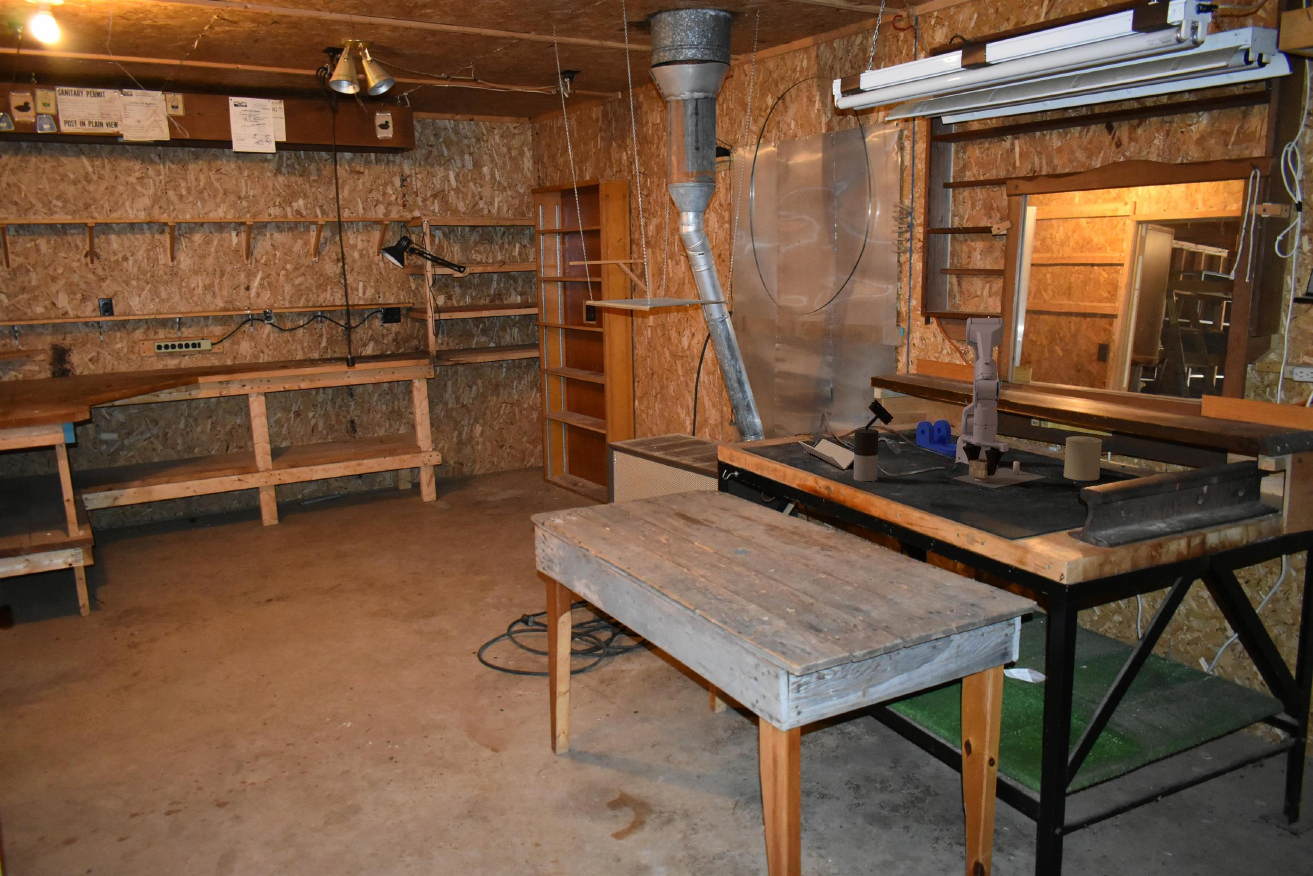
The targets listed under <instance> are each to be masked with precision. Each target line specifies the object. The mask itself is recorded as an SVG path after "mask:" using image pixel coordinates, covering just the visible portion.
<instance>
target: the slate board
mask: <svg viewBox="0 0 1313 876" xmlns="http://www.w3.org/2000/svg"><path fill="white" fill-rule="evenodd" d="M1020 462H1021V461H1017V460H1015V461H1013V465H1012V468H1007V467H1001V468H998V471H997V476H996V477H990V478H985V479H984V478H979V477H975V476H971V475H969V474H966V475H960V476H956V477H952V480H951V483H956V484H959V485H960V484H961V485H964V486H967V487H968V486H969V487H971V488H972V487H973V488H976V489H980V490H984V491H988V492H991V493H994V492H995V490H992V489H996V488H1000V487H1006V486H1011V485H1015V484H1021V483H1025V482H1030V481H1035V480H1036V481H1037V480H1039V479H1045V478H1046V476H1044V475H1039V474H1034V473H1030V472H1026V471H1022V470H1020V464H1021V463H1020ZM953 479H954V480H953ZM955 480H958V481H955ZM960 481H961V482H960ZM964 482H966V483H964ZM967 483H970V484H967ZM971 484H972V485H971ZM973 484H974V485H973ZM975 485H978V486H975ZM980 486H981V487H980ZM983 487H986V488H983ZM988 488H989V489H988Z"/></svg>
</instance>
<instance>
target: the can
mask: <svg viewBox="0 0 1313 876" xmlns="http://www.w3.org/2000/svg"><path fill="white" fill-rule="evenodd" d="M1102 446H1103V439H1101V438H1097V437H1094V436H1082V435H1081V436H1079V435H1076V436H1075V435H1074V436H1068V437H1066V438H1065V452H1064V453H1065V454H1064V465H1063V466H1064V468H1063V477H1064V478H1067V479H1070V480H1076V481H1086V482H1087V481H1097V480H1099V479H1100V474H1101V472H1100V471H1101V470H1100V469H1101V459H1102V458H1101V456H1102Z"/></svg>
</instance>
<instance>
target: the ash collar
mask: <svg viewBox="0 0 1313 876" xmlns="http://www.w3.org/2000/svg"><path fill="white" fill-rule="evenodd" d="M968 466H969V467H968V475H971V476H975V477H979V478H984V479H985V478H990V477H996V476H997V471H998V469H999V464H998V465H997V468H996V471H995V474H994V475H991V476H988V475H987V459H977V460H971V461H969V464H968Z"/></svg>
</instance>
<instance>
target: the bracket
mask: <svg viewBox="0 0 1313 876" xmlns="http://www.w3.org/2000/svg"><path fill="white" fill-rule="evenodd" d="M915 438H916V440H915V445H916V444H917V445H920V446H922V447H925V448H928V449H931V450H934V451H937V452H940V453H942V454H946V455H950V456H949V457H956V449H957V443H953V442H952V427H951V424H950V423H949V421H948V420H946V419H937V420H936V421H935V422H934V423H932V422H931V421H926V420H925V421H919V423H918V424H917V427H916V437H915Z"/></svg>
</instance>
